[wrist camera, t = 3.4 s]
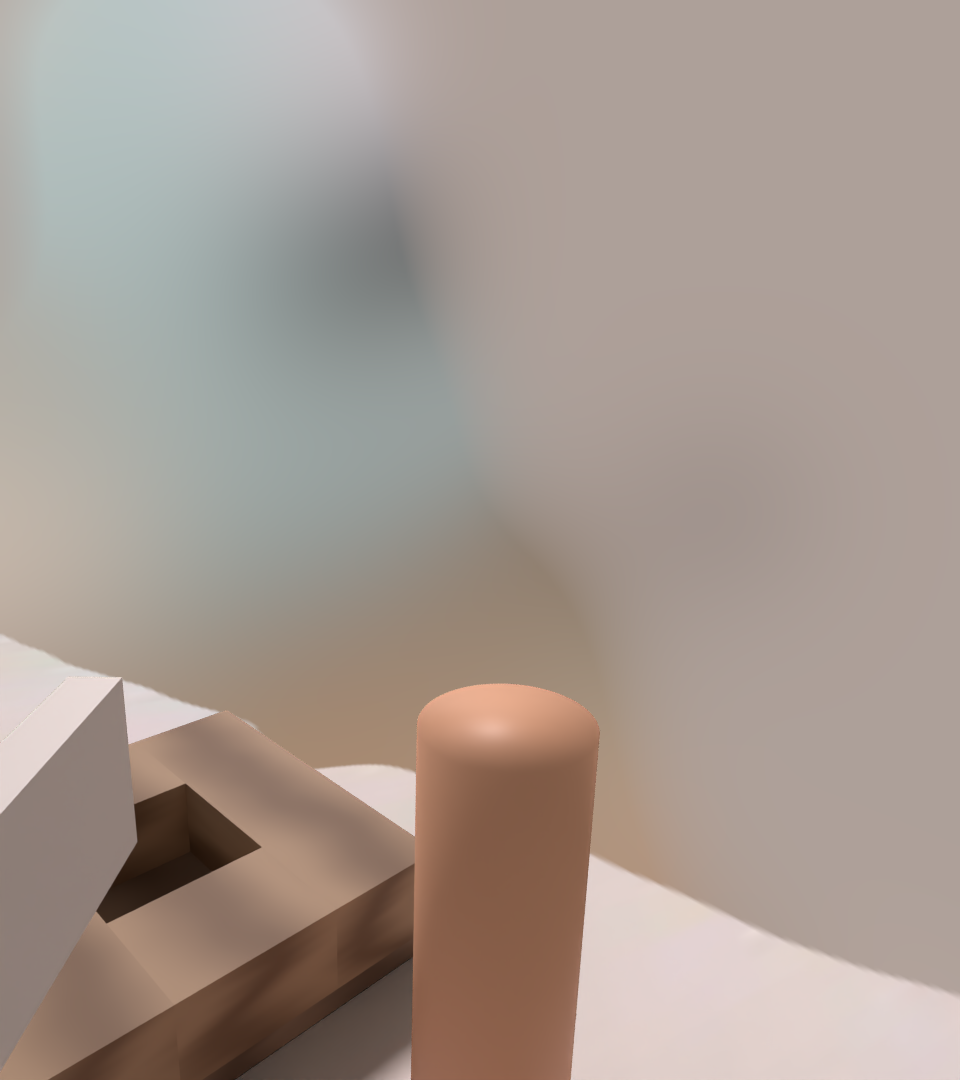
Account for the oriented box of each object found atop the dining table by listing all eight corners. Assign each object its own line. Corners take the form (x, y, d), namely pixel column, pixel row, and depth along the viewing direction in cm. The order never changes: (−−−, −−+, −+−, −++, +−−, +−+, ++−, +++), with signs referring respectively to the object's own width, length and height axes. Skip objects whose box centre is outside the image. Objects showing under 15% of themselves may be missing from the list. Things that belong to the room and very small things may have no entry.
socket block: (22, 1225, 28) (4, 1105, 26) (-121, 932, 39) (-139, 838, 38) (433, 942, 40) (435, 850, 39) (230, 784, 52) (226, 710, 51)
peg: (486, 1331, 25) (515, 797, 20) (377, 1206, 29) (379, 721, 23) (589, 1208, 29) (636, 727, 24) (481, 1110, 32) (502, 669, 27)
